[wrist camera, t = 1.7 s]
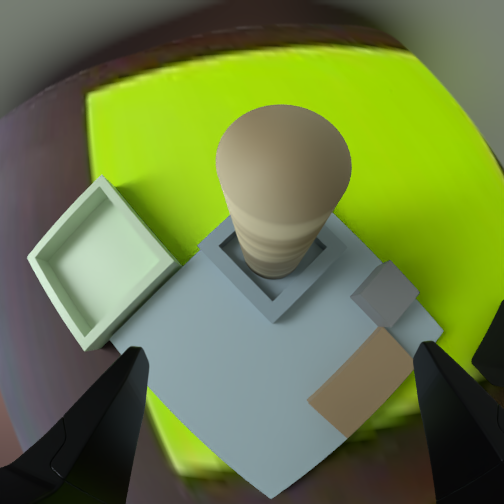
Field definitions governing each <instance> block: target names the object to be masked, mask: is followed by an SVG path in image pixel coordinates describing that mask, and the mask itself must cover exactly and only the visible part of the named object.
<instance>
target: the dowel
mask: <svg viewBox="0 0 504 504" xmlns="http://www.w3.org/2000/svg"><path fill="white" fill-rule="evenodd" d="M216 169H217V174H218V177H219V180H220V184H221V187H222V190H223V193H224V196H225V199H226V203H227V206H228V209H229V212H230V215H231V218H232V222H233V225H234V228H235V231H236V234H237V237H238V240H239V243H240V247H241V250H242V253H243V256H244V259H245V262H246V264H247V266H248V267H249V268H250V270H251V271H252V272H253V273H255V274H256V275H258V276H260V277H262V278H265V279H272V280H273V279H280V278H283V277H286V276H288V275H289V274H291V273H292V272H293V271H294V270H295V269H296V267H297V266H298V264H299V263H300V261H301V260H302V258H303V257H304V255H305V254H306V252H307V251H308V249H309V248H310V246H311V245H312V243H313V241H314V240H315V238H316V237H317V235H318V234H319V232H320V231H321V229H322V227H323V226H324V224H325V223H326V221H327V220H328V218H329V216H330V215H331V213H332V212H333V210H334V209H335V207H336V205H337V204H338V202H339V201H340V199H341V197H342V196H343V194H344V193H345V191H346V189H347V186H348V184H349V181H350V177H351V169H352V167H351V157H350V152H349V149H348V146H347V144H346V142H345V140H344V138H343V137H342V135H341V134H340V132H339V131H338V130H337V129H336V128H335V127H334V126H333V125H332V124H331V123H330V122H329V121H328V120H326V119H325V118H323V117H322V116H320V115H319V114H317V113H315V112H313V111H310V110H308V109H305V108H302V107H298V106H292V105H270V106H264V107H260V108H257V109H254V110H252V111H250V112H248V113H246V114H244V115H242V116H241V117H239V118H238V119H237V120H236V121H234V122H233V123H232V124H231V125H230V126H229V128H228V129H227V130H226V132H225V133H224V135H223V136H222V138H221V140H220V142H219V145H218V149H217V154H216Z"/></svg>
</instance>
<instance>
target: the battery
mask: <svg viewBox="0 0 504 504" xmlns="http://www.w3.org/2000/svg"><path fill="white" fill-rule="evenodd" d="M472 364H473V365H474V366H475V367H476V368H477V369H478V370H479V371H480V373H481V374H482V375H483V376H484V377H485V378H486V379H487V380H488V381H489V382H490V383H491V384H492V385H496V386H500V387H504V300H503V301H502V303H501V305H500V307H499V309H498V311H497V313H496V315H495V317H494V319H493V321H492V323H491V325H490V327H489V329H488V331H487V333H486V335H485V337H484V338H483V340H482V342H481V344H480V346H479V348H478V349H477V351H476V353H475V355H474V356H473V358H472Z"/></svg>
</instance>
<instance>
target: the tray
mask: <svg viewBox="0 0 504 504" xmlns="http://www.w3.org/2000/svg"><path fill="white" fill-rule="evenodd" d="M27 259H28V261H29V262H30V264H31V266H32V268H33V270H34V272H35V274H36V275H37V277H38V279H39V281H40V283H41V284H42V286H43V288H44V290H45V291H46V293H47V295H48V296H49V298H50V300H51V301H52V303H53V305H54V306H55V308H56V310H57V311H58V313H59V314H60V316H61V317H62V319H63V321H64V322H65V324H66V325H67V327H68V328H69V330H70V331H71V333H72V334H73V336H74V337H75V338H76V340H77V341H78V343H79V344H80V346H81V347H82V348H83V350H84V351H89V350H96V349H101V348H102V347H103V346H104V345H105V344H106V343H107V342H108V341H109V339H110V338H111V337H112V336H113V335H114V334H115V333H116V332H117V331H118V330H119V329H120V328H121V327H122V326H123V325H124V324H125V323H126V322H127V321H128V320H129V319H130V318H131V317H132V316H133V315H134V314H135V313H136V312H137V311H138V310H139V309H140V308H141V307H142V306H143V305H144V304H145V303H146V302H147V301H148V300H149V299H150V298H151V297H152V296H153V295H154V294H155V293H156V292H157V291H158V290H159V289H160V288H161V287H162V286H163V285H164V284H165V283H166V282H167V281H168V280H169V279H170V278H171V277H172V276H173V275H174V274H175V273H177V272H178V271H179V270H180V269H181V268H182V267H183V266H182V265H181V264H180V263H179V262H178V261H177V259H176V258H175V257H174V256H173V255H172V254H171V253H170V251H169V250H168V249H167V248H166V247H165V246H164V245H163V243H162V242H161V241H160V240H159V239H158V238H157V237H156V235H155V234H154V233H153V232H152V231H151V230H150V228H149V227H148V226H147V225H146V224H145V223H144V221H143V220H142V219H141V218H140V217H139V215H138V214H137V213H136V212H135V211H134V210H133V208H132V207H131V206H130V205H129V204H128V202H127V201H126V200H125V199H124V197H123V196H122V195H121V194H120V193H119V191H118V190H117V189H116V188H115V186H113V185H112V184H111V183H110V182H109V181H108V180H107V179H106V178H105V177H104V176H103V175H101V176H100V177H99V178H98V179H97V180H96V181H95V182H94V183H93V184H92V185H91V186H90V187H89V188H88V189H87V190H86V191H85V192H84V193H83V194H82V195H81V196H80V197H79V198H78V199H77V200H76V201H75V202H74V203H73V204H72V205H71V206H70V207H69V209H68V210H67V211H66V212H65V213H64V214H63V215H62V216H61V217H60V219H59V220H58V221H57V222H56V223H55V224H54V225H53V226H52V228H51V229H50V230H49V231H48V232H47V233H46V235H45V236H44V237H43V238H42V239H41V241H40V242H39V243H38V244H37V245H36V247H35V248H34V249H33V250H32V252H31V253H30V254H29V255H28V257H27Z"/></svg>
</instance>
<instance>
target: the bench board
mask: <svg viewBox="0 0 504 504" xmlns="http://www.w3.org/2000/svg"><path fill="white" fill-rule="evenodd" d="M197 246H198V247H199V248H200V249H201V250H200V251H199V252H197V253H196V254H195V255H194V256H193V257H192V258H191V259H190V260H189V261H188V262H187V263H186V264H185V265H184V266H183V267H182V268H181V269H180V270H179V271H178V272H177V273H175V274H174V275H173V276H172V277H171V278H170V279H169V280H168V281H167V282H166V283H165V284H164V285H163V286H162V287H161V288H160V289H159V290H158V291H157V292H156V293H155V294H154V295H153V296H152V297H151V298H150V299H149V300H148V301H147V302H146V303H145V304H144V305H143V306H142V307H141V308H140V309H139V310H138V311H137V312H136V313H135V314H134V315H133V316H132V317H131V318H130V319H129V320H128V321H127V322H126V323H125V324H124V325H123V326H122V327H121V328H120V329H119V330H118V331H117V332H116V333H115V334H114V335H113V336H112V337H111V338H110V339H109V340H110V341H111V342H112V343H113V345H114V346H115V347H116V349H117V350H118V351H119V352H120V354H121V355H122V354H123V353H124V351H125V350H126V349H127V348H128V347H130V346H139V347H142V348H143V349H144V351H145V354H146V356H147V359H148V361H149V376H148V384H147V386H148V387H149V388H150V389H151V390H152V391H153V392H154V393H155V395H156V396H157V397H158V398H159V399H160V400H161V401H162V402H163V403H164V404H165V405H166V406H167V407H168V408H169V409H170V411H171V412H172V413H173V414H174V415H175V416H176V417H177V418H178V419H179V420H180V421H181V422H182V423H183V424H184V425H185V426H186V427H187V428H188V429H189V430H190V431H191V432H192V433H193V434H194V435H196V436H197V437H198V438H199V439H200V440H201V441H202V442H203V443H204V444H205V445H206V446H207V447H208V448H209V449H211V450H212V451H213V452H214V453H215V454H216V455H217V456H218V457H220V458H221V459H222V460H223V461H224V462H225V463H226V464H228V465H229V466H230V467H231V468H232V469H234V470H235V471H236V472H237V473H238V474H240V475H241V476H242V477H243V478H244V479H246V480H247V481H248V482H249V483H251V484H252V485H253V486H255V487H256V488H257V489H258V490H260V491H261V492H262V493H264V494H265V495H266V496H268V497H269V498H270V499H272V498H273V497H275V496H276V495H278V494H279V493H280V492H282V491H283V490H285V489H286V488H287V487H289V486H290V485H291V484H293V483H294V482H295V481H297V480H298V479H299V478H301V477H302V476H303V475H305V474H306V473H307V472H308V471H310V470H311V469H312V468H313V467H315V466H316V465H317V464H318V463H320V462H321V461H322V460H323V459H324V458H326V457H327V456H328V455H329V454H330V453H332V452H333V451H334V450H335V449H336V448H337V447H338V446H340V445H341V444H342V443H343V442H344V441H345V440H346V439H347V438H349V437H350V436H351V435H352V434H353V433H354V432H355V431H356V430H357V429H358V428H359V427H360V426H361V425H362V424H363V423H364V422H365V421H366V420H367V419H368V418H369V417H370V416H371V415H372V414H373V413H374V412H375V411H376V410H377V409H378V408H379V407H380V406H381V405H382V404H383V403H384V402H385V401H386V400H387V399H388V398H389V397H390V396H391V395H392V394H393V392H394V391H395V390H396V389H397V388H398V387H399V386H400V385H401V384H402V382H403V381H404V380H405V379H406V378H407V377H408V375H409V374H410V373H411V372H412V371H413V370H414V367H413V357H414V355H415V353H416V351H417V349H418V347H419V345H420V343H421V342H423V341H430V340H431V341H434V342H436V341H437V339H438V338H439V337H440V335H441V334H442V333H443V330H442V328H441V327H440V326H439V325H438V324H437V322H436V321H435V320H434V319H433V318H432V317H431V315H430V314H429V313H428V312H427V311H426V310H425V309H424V307H423V306H422V305H421V304H420V303H419V302H418V301H417V300H416V297H417V295H418V294H419V293H420V292H419V291H418V290H417V289H416V288H415V286H414V285H413V284H412V283H411V282H410V281H409V280H408V279H407V278H406V277H405V275H404V274H403V273H402V272H401V271H400V270H399V269H398V268H397V267H396V266H395V265H394V264H393V263H392V262H391V260H389V261H387V262H385V263H382V262H381V261H380V260H379V259H378V258H377V256H376V255H375V254H374V253H373V252H372V251H371V250H370V249H369V248H368V247H367V246H366V245H365V244H364V243H363V242H362V241H361V240H360V239H359V238H358V237H357V236H356V235H355V234H354V233H353V232H352V231H351V230H350V229H349V228H348V227H347V226H346V225H345V224H344V223H343V222H342V221H341V220H340V219H339V218H338V217H336V216H335V215H334V214H333V213H331V215H330V216H329V218H328V220H327V221H326V223H325V224H324V226H323V227H322V229H321V231H320V232H319V234H318V235H317V237H316V238H315V240H314V241H313V243H312V245H311V246H310V248H309V249H308V251H307V252H306V254H305V255H304V257H303V258H302V260H301V261H300V263H299V264H298V266H297V267H296V269H295V270H294V271H293V272H292V273H291V274H289V275H288V276H286V277H283V278H280V279H273V280H272V279H265V278H262V277H260V276H258V275H256V274H255V273H253V272H252V271H251V270H250V268H249V267H248V266H247V264H246V262H245V259H244V256H243V253H242V250H241V247H240V243H239V240H238V237H237V234H236V231H235V228H234V225H233V222H232V218H231V215H230V216H228V217H227V218H226V219H225V220H224V221H223V222H222V223H221V224H220V225H219V226H218V227H217V228H215V229H214V230H213V231H212V232H211V233H210V234H209V235H208V236H207V237H206V238H205V239H204V240H203V241H202V242H201V243H199V244H198V245H197Z"/></svg>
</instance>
